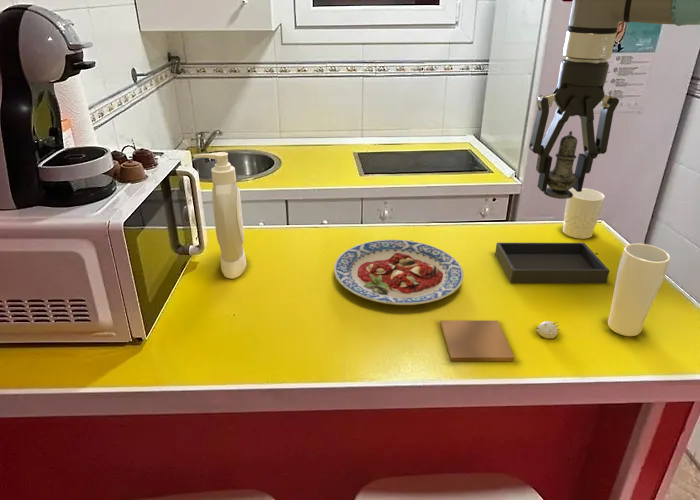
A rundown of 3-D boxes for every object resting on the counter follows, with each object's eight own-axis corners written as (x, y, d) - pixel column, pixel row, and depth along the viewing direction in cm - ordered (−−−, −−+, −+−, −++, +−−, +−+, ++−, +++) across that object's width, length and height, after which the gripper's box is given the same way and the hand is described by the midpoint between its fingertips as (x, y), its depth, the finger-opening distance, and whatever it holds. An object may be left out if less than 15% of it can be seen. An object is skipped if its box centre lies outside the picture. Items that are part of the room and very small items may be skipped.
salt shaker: (579, 199, 96) (594, 135, 90) (547, 199, 96) (560, 135, 90) (567, 188, 101) (581, 126, 95) (537, 187, 101) (549, 126, 95)
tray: (581, 254, 114) (584, 242, 113) (606, 283, 104) (609, 270, 102) (494, 254, 114) (496, 242, 113) (510, 283, 103) (513, 270, 102)
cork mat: (497, 324, 91) (497, 320, 91) (513, 361, 82) (514, 357, 82) (440, 324, 91) (440, 320, 90) (450, 361, 82) (451, 357, 82)
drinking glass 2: (608, 338, 88) (632, 260, 81) (597, 315, 93) (618, 241, 87) (651, 342, 87) (678, 264, 80) (637, 319, 93) (661, 244, 86)
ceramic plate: (405, 238, 121) (406, 226, 119) (490, 286, 102) (492, 273, 101) (310, 268, 108) (309, 255, 106) (386, 330, 89) (387, 316, 88)
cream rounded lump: (562, 338, 87) (565, 325, 86) (539, 340, 87) (542, 327, 86) (552, 327, 90) (555, 315, 89) (531, 329, 90) (533, 316, 89)
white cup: (555, 225, 128) (563, 187, 123) (587, 226, 128) (597, 188, 123) (565, 239, 121) (574, 199, 116) (600, 240, 121) (610, 200, 116)
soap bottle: (212, 253, 113) (197, 144, 102) (248, 252, 114) (237, 143, 103) (205, 284, 102) (188, 165, 91) (245, 282, 103) (233, 163, 91)
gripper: (631, 56, 90) (600, 182, 101) (523, 56, 90) (503, 181, 101) (653, 63, 84) (618, 196, 95) (536, 62, 84) (514, 196, 95)
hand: (559, 188), depth 98 cm, fingers closed on salt shaker, 6 cm apart
